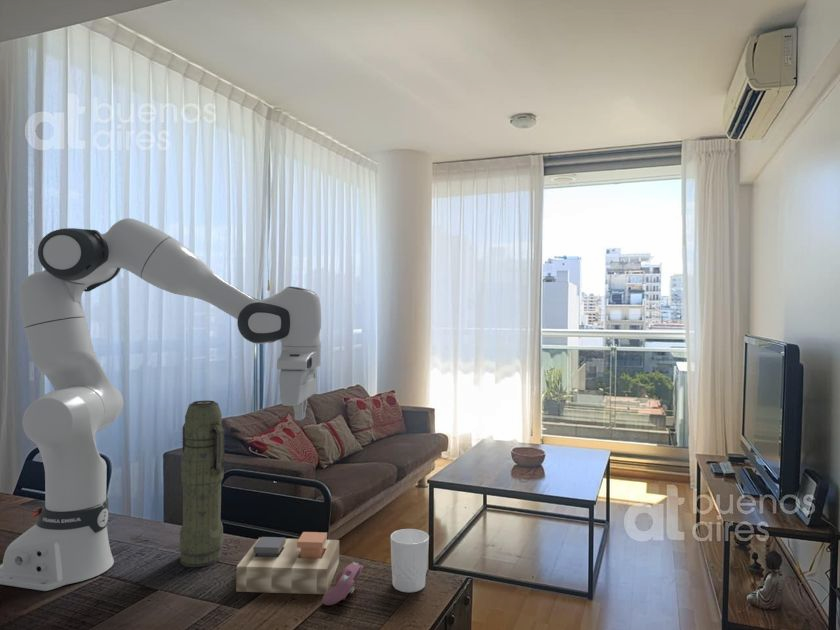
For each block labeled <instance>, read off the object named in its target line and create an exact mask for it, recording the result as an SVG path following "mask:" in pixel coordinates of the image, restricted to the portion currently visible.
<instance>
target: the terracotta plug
mask: <svg viewBox="0 0 840 630" xmlns="http://www.w3.org/2000/svg"><path fill="white" fill-rule="evenodd" d="M298 539H299V540H298V541H297V548H301V555H300V558H315V559H322V557H323V555H324V544H325V542H326V540H328V532H318V531H302V533H301V535H300V537H299V538H298Z"/></svg>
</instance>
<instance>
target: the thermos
mask: <svg viewBox="0 0 840 630" xmlns="http://www.w3.org/2000/svg"><path fill="white" fill-rule="evenodd" d="M222 419H223V418H222V410H221V408H220V405H219V403H218V402H216V401H215V400H196V401H193V402H191V403H190V404H188V408H187V410H186V413H185V416H184V424H183V425H182V455H181V464H180V466H181V467H180V470H181V472H180V475H181V476H180V478H181V479H180V482H181V484H182V487H183V488H182V489H183V491H182V492H183V493H182V497H183V498H182V526H181V528H180V531H179V551H180V560H179V562H180V564H181V565H183V566H184V567H186V568H201V567H202V568H203V567H207V566H210V565H214V564H215V563H217V562H219V561H220V560H221V559H222V556H223V552H222V547H223V544H224V525H223V522H222V519H221V512H222V510H221V509H222V507H221V506H222V482H223V479H224V471H225V470H224V469H225V468H224V467H225V466H224V465H225V443H226V442H225V437H226V436H225V434H226V431H225V429H224V426H222Z"/></svg>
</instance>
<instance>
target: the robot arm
mask: <svg viewBox="0 0 840 630" xmlns="http://www.w3.org/2000/svg"><path fill="white" fill-rule="evenodd" d="M37 248H38V249H37V256H38V261H39V263H40V264H41V267H42V268H43V269H44V270H42V271H41V270H40V271H37V272H34V273H32V274H29V275H28V276H27V277H25V278H24V279H23V280H22V281H21V283H20V286H19V304H20V312H21V313H20V314H21V318H22V323H23V329H24V333H25V337H26V341H27V345H28V348H29V353H30V357H31V360H32V364H33V365H34V367H35V368H36V369H38V370H39V371H40V372H41V373H42V374H44V376H45V377H46V378H47V379H48V381H49V383H50V385H51V386H52V387H53V391H50V392H48V393H45V394H44V395H42V396H41V397H39V398H37V399H36V400H35V401H33V402H32V403H31V404H29V406H27V408H26V409H25V411H24V413H23V415H22V416H23V417H22V422H21V423H22V430H23V432H24V434H25V436H26V437H27V438H28V439H29V440H30V441H31V442H32V443H34V444H35V445H36V447H37V448H38V450H39V453H40V456H41V459H42V463H43V468H44V481H45V485H44V487H45V488H44V489H45V490H44V492H45V495H44V498H45V500H44V501H45V503H44V505H42V506H40V507H39V508H38V509H37V510H34V511H33V512H31V514H33V515H32V516H31V518H36V517H37V516H38V519H37V520H36V523H35V524H34V525H33V526H31V527H30V528H29V529H27V530H26V531H25V532H22V534H21V535H19V536H18V537H16V538H15V539H14V540H13V541H12V542H11V543H10V544H9V545H8V546H7V548H6V549H5V552H4V556H3V561H2V564H0V585H4V586H9V587H16V588H22V589H29V590H30V589H31V590H34V591H35V590H36V591H42V592H47V591H51V590H54V589H57V588H61V587H63V586H66V585H69V584H70V585H71V584H74V583H75V584H76V583H80V582H83V581H86V580H90V579H92V578H95V577H97V576H100V575H102V574H104V573H105V572H107V571H108V570H109V569H111V568H112V566H113V565H114V563H115V559H114V557H113V554H112V550H111V546H110V541H109V534H108V533H109V532H108V522H109V507H110V506H109V498H108V497H107V474H108V473H107V462H106V460H105V459H104V458H103V457H101V455H100V452H99V450H98V446H97V441H96V433H97V432H100V431H101V430H103V429H106V428H107V427H109V426H110V425H112V424H113V422H115V420H116V419H118V417H119V416H120V415H121V414H122V412H123V408H124V397H123V395H122V393H121V391H120V390H119V389H118V388H117V387H116V386H115V385H113V384H112V382H111V381H110V379H109V378H108V376H107V374H106V372H105V371H104V368H103V367H102V365H101V363H100V361H99V359H98V357H97V354H96V352H95V350H94V345H93V343H92V338H91V334H90V331H89V327H88V324H87V320H86V318H87V317H86V315H85V311H84V307H83V302H82V297H83V296H82V295H83V293H84V292H87V293H88V292H91V291H92V290H94V289H97V288H99V287H100V286H102V285H105V284H107V283H108V282H110V281H112V280H113V279H114V278H117V276H118V275H119V273H120V271H121V269H123V270H126V271H128V272H130V273H132V274H133V275H135V276H137V277H139V279H141V280H143V281H145V282H146V283H148V284H150V285H152V286H153V287H156V288H158V289H161V290H163V291H166V292H169V293H171V294H174V295H178V296H184V297H189V298H190V297H191V298H194V299H198V300H201V301H204V302H206V303H208V304H210V305H212V306H214V307H216V308H218V309H219V310H221V311H222V312H224V313H226V314H228V315H229V316H231V317H233V318H234V319H235V320H237V329H238V331H239V333H240V334H241V336H242V338H244V339H245V340H247V341H249V342H250V343H253V344H256V345H257V344H258V345H263V344H265V345H266V344H269V343H274V342H277V341H279V342H280V343H281V345H280V347H281V348H280V350H281V351H280V355H279V357H278V358H277V361H276V369H277V370H278V371H279V375H278V379H279V380H278V382H279V383H278V385H279V398H280V402H281V405H282V406H288V407H289V406H290V407H293V412H294V421H302V420H304V419H305V418H306V410H307V407H308V406H307V405H308V399H309V398H310V397H312V396H313V395H315V394H316V393H317V392H318V390H317V389H318V369H317V367H321V355H322V354H321V351H322V349H321V348H322V345H321V344H322V342H321V340H320V333H321V329H322V308H321V301H320V297H319V296H318V294H317V293H316V292H315V291H313V290H311V289H307V288H303V287H298V286H287V287H285V288H284V289H283V290H281V291H279V292H277V293H275V294H273V295H271V296H269V297H267V298H263V299H257V298H255V297H253V296H250V295H249V294H247V293H245V292H244V291H242V290H240V289H239V288H238V287H236V286H234V285H232V284H231V283H229V282H228V281H226V280H224V279H223V278H221V277H220V276H218V275H217V273H216V272H214V271H213V270H212V269H211V268H210V267H209V266H208V265H207V264H206V263H205V262H204V261H203V260H201V258H199V257H198V256H197V255H196V254H195V253H194V252H193V251H192V250H191V249H189V248H188V247H187V246H185V245H184V244H183V243H181V242H180V241H179V240H177V239H176V238H173V237H172V236H170V235H169V234H168V233H165V232H163V231H162V230H160V229H158V228H156V227H154V226H153V225H149V224H147V223H146V222H143V221H140V220H137V219H134V218H129V217H128V218H123V219H120V220H118V221H117V222H115V223H114V224H113V225H112V226H110V228H109V229H108V231H107V232H105V233H100V232H99V231H98V230H97V229H86V228H84V229H83V228H77V227H76V228H74V227H68V228H67V227H66V228H59V229H55V230H52V231H50V232H49V233H47V234H46V235H45V236H44V237H42V239H41V240H40V242H39V245H38V247H37Z"/></svg>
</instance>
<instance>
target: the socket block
mask: <svg viewBox="0 0 840 630" xmlns="http://www.w3.org/2000/svg"><path fill="white" fill-rule="evenodd" d="M260 538H261V537H258V539H257V540H256V541H255V542H254V543H253V545H252V546H251V547H250V548H249V550H248V551H247V553H245V555H244V556H243V558H242V559H241V560H240V561H239V563H238V564H237V565H236V575H235V576H236V582H235V583H236V586H235V591H236V592H239V593H241V592H242V593H248V592H249V593H269V594H271V593H272V594H273V593H274V594H302V595H303V594H304V595H306V594H307V595H324V594H325V593H326V592H328V591H329V590H330V587H331V585H332V581H333V580H334V577H335V574H336V571H337V569H338V566H339V563H340V539H327V540H326V542H325V544H324V555H323V557H322V559H315V558H300V555H301V548H297V541H298V540H299V538H285V544H284V546H283V547H282V552H281V554H280V555H279V557H257V553H253V551H254V546H255V544H256V543H257V542H258V541H259V539H260Z"/></svg>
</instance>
